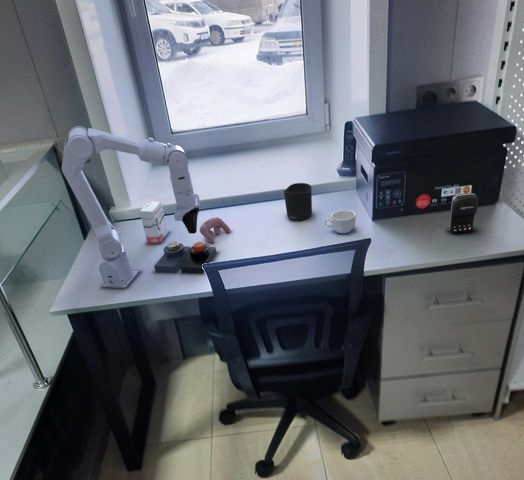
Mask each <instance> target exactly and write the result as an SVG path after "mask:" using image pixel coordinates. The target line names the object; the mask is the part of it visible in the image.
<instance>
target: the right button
mask: <svg viewBox="0 0 524 480" xmlns="http://www.w3.org/2000/svg"><path fill="white" fill-rule="evenodd" d="M204 244H205V242H203V241H197V242H194V243H193V244H192V246H193V248H194V251H195V252H200V251H203V250H205V245H204Z"/></svg>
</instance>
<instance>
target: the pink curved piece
mask: <svg viewBox="0 0 524 480" xmlns="http://www.w3.org/2000/svg"><path fill="white" fill-rule="evenodd" d="M221 229H222V230H223V231H224V232H226V233H230V232H231V228H230V227H229V225H228V224H227V223H226V222H225V221H224V220H223V219H222V218H220V217H218V216H216V217H212V218H209V219H207V220H206V221H204V222H203V223H202V224H201V226H199V233H200V234H201V236H203V238H204V239H205V240H206V241H207V242H209V243H214V240H215V239H214V237H215V235H219V234H220V233H221Z"/></svg>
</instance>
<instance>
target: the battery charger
mask: <svg viewBox="0 0 524 480" xmlns="http://www.w3.org/2000/svg"><path fill="white" fill-rule="evenodd" d="M478 206H479V198H478V197H477V195H476V193H472V192H469V193H461V194H455V195H454V196H453V197H452V200H451V206H450V216H449V218H450V219H449V227H448V231H449V232H450V233H451V234H464V233H466V234H467V233H472V232H473V230H474V229H473V228H474V219H475V215H476V214H477V212H478Z"/></svg>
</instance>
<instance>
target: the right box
mask: <svg viewBox="0 0 524 480" xmlns="http://www.w3.org/2000/svg"><path fill="white" fill-rule="evenodd" d="M204 245H205V250H203V251H200V252H195V251H194V248H193V245H192V246H190V249H189V252H190V255H189V256H188V257H187V259H186V260H185V261H184V263H183V264H182V265H181V267H180V268H179V269H180V271H181V274H199V275H201V274H202V275H203V274H204V273H205V271H204V270H203V269H202V264H204V263H209V262H210V263H211V262H212V260H213V259H214V258H215V256H216V255H217V253H218V252H217V247H216V246H210V244H208V243H204Z"/></svg>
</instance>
